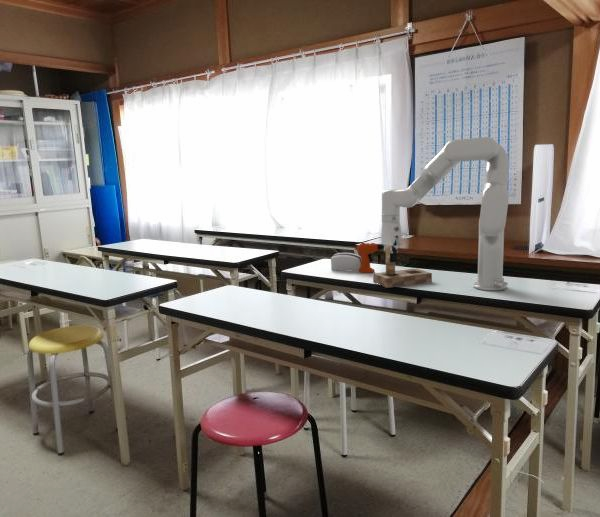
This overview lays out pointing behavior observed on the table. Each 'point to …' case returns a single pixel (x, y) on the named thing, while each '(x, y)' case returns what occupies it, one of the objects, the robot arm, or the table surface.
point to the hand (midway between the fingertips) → (390, 260)
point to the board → (402, 278)
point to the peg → (389, 266)
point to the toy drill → (367, 255)
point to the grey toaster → (346, 261)
